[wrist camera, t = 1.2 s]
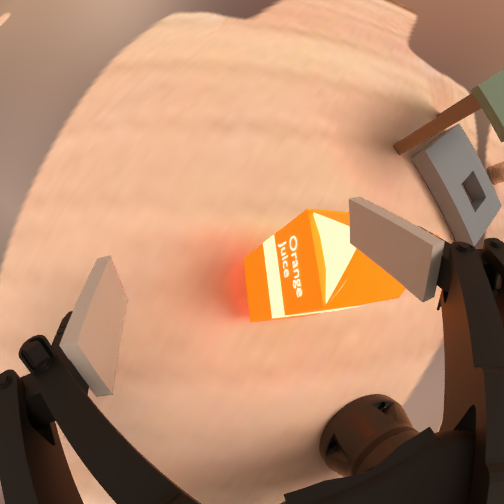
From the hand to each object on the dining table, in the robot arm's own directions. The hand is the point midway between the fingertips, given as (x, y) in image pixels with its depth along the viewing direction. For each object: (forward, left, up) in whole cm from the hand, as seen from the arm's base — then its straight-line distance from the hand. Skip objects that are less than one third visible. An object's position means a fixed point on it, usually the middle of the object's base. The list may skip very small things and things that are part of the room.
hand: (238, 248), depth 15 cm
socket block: (-13, -41, -22) cm, 48 cm away
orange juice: (-7, -3, -20) cm, 22 cm away
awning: (-4, -41, -22) cm, 47 cm away
